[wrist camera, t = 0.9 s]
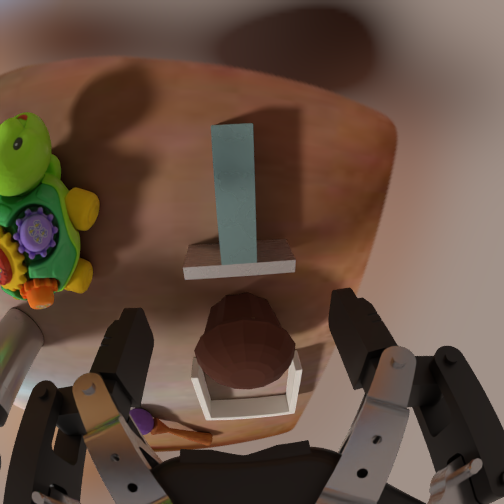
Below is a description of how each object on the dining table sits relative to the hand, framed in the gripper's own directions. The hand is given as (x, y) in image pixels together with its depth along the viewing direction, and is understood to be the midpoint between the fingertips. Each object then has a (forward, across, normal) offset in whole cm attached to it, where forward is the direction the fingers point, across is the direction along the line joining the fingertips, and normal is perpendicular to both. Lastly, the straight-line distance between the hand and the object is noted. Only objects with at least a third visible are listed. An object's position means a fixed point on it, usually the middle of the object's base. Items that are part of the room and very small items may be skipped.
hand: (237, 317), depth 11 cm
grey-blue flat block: (+19, 0, +1) cm, 19 cm away
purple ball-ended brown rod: (+19, +19, +47) cm, 54 cm away
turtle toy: (+19, +23, -2) cm, 30 cm away
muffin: (+19, 0, +17) cm, 26 cm away
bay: (+19, +1, +32) cm, 37 cm away
